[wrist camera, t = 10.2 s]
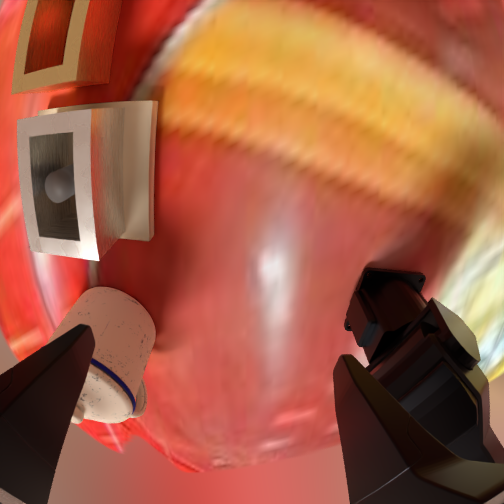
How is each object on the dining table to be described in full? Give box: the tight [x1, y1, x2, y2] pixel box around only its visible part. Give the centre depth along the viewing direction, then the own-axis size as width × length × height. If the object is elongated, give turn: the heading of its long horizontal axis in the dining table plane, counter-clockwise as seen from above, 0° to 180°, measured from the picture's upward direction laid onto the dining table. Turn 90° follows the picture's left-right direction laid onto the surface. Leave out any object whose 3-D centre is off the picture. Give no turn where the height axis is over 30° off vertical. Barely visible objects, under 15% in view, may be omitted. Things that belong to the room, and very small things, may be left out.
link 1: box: [11, 0, 123, 95], centre depth 12 cm, size 9×6×4 cm, turn 173°
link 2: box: [17, 107, 125, 261], centre depth 16 cm, size 9×6×4 cm, turn 174°
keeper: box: [38, 101, 158, 241], centre depth 17 cm, size 10×10×5 cm
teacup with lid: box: [40, 287, 156, 424], centre depth 21 cm, size 12×9×12 cm
